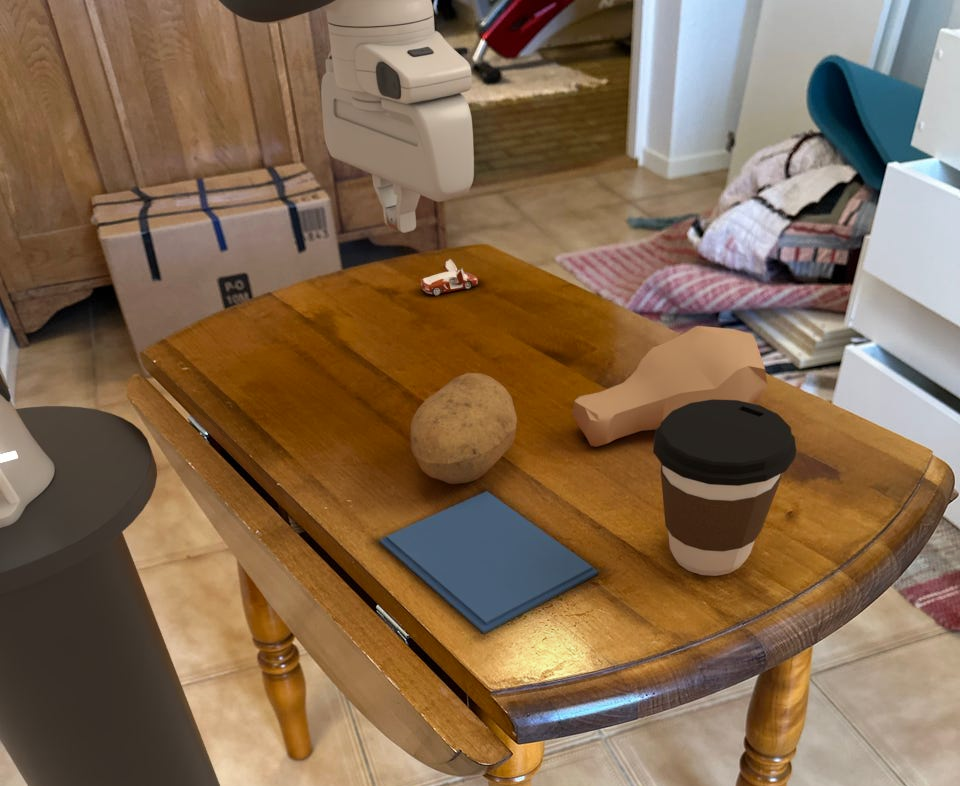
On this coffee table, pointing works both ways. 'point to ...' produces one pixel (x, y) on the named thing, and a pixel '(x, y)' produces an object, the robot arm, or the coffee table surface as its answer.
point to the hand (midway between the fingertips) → (400, 227)
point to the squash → (675, 383)
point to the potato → (463, 428)
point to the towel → (487, 560)
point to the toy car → (448, 280)
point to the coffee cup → (719, 479)
